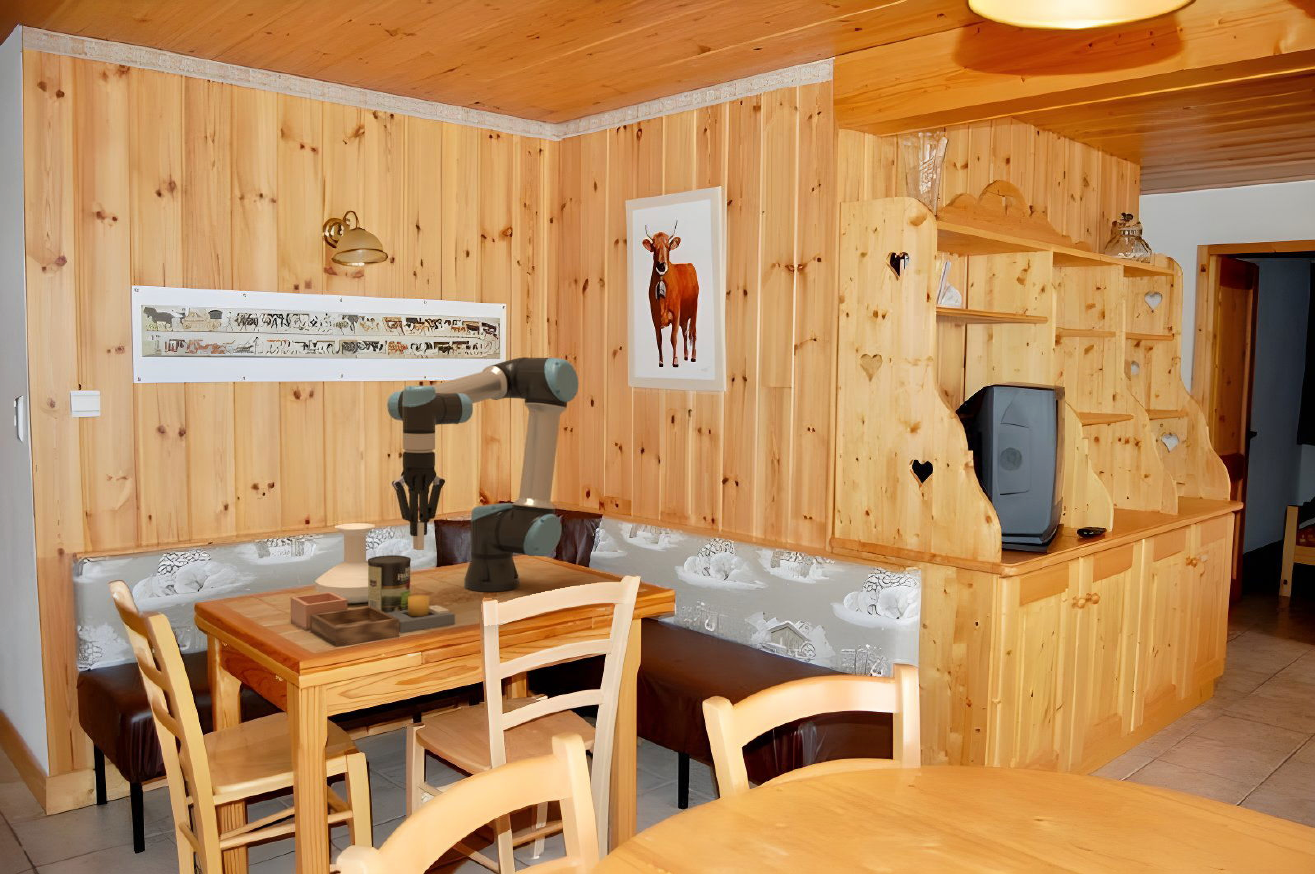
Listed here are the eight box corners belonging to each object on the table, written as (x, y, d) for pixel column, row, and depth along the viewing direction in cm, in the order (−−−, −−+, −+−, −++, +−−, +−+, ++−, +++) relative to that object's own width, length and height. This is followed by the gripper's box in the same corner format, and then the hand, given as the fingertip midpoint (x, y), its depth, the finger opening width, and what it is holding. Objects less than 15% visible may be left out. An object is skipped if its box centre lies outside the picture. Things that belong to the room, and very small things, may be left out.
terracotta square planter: (331, 615, 258) (331, 591, 257) (347, 624, 250) (347, 599, 250) (290, 621, 252) (290, 597, 251) (306, 630, 244) (305, 605, 243)
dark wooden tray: (371, 622, 252) (371, 606, 252) (399, 636, 241) (399, 619, 241) (310, 631, 243) (310, 614, 243) (335, 646, 231) (335, 628, 231)
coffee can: (417, 611, 264) (417, 556, 263) (399, 621, 254) (399, 564, 253) (379, 608, 266) (379, 553, 265) (360, 618, 256) (360, 561, 255)
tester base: (435, 615, 260) (435, 603, 260) (454, 624, 252) (454, 611, 252) (382, 623, 251) (382, 610, 251) (400, 632, 244) (400, 619, 243)
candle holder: (315, 592, 283) (314, 521, 281) (391, 588, 289) (391, 519, 287) (315, 609, 264) (314, 534, 262) (396, 605, 270) (397, 531, 268)
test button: (423, 610, 255) (423, 593, 255) (432, 614, 251) (432, 597, 251) (404, 612, 252) (404, 596, 252) (413, 617, 248) (413, 600, 248)
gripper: (436, 448, 256) (436, 544, 257) (386, 450, 247) (386, 549, 249) (451, 451, 250) (450, 548, 252) (400, 453, 242) (399, 554, 243)
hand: (418, 549), depth 250 cm, fingers closed
